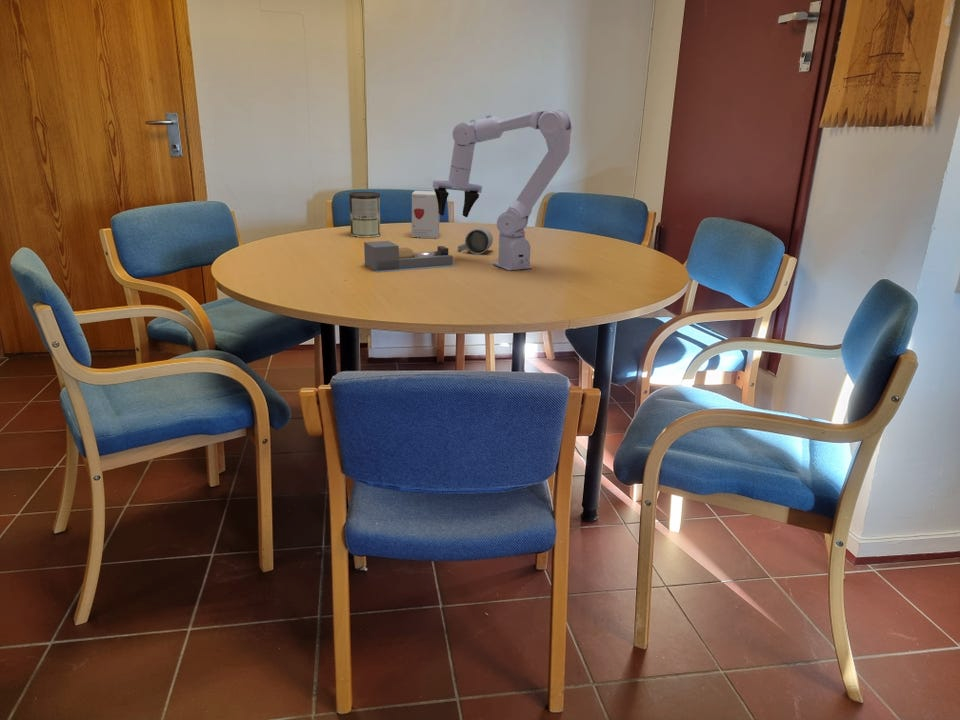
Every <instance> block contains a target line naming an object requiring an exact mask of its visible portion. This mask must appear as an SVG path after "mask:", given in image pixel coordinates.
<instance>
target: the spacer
mask: <svg viewBox="0 0 960 720" xmlns="http://www.w3.org/2000/svg"><path fill="white" fill-rule="evenodd" d="M413 251H414V250H413V249H411V248H409V247H399V259H401V258H413V253H414V252H413Z"/></svg>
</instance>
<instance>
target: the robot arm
mask: <svg viewBox="0 0 960 720" xmlns="http://www.w3.org/2000/svg"><path fill="white" fill-rule="evenodd" d="M485 117H486V118H482V119H477V120H476V119H470V120H469V121H470V122H467V123H466V122H461V123H459V124H457V125H456V126H454V128H453V129H452V139H453V142H454V144H453V149H452V156H451V162H450V169H449V176H448V180H433V181H432V188H433V189H434V190H433V191H435V193H436V197H437V201H438V209H439V214H440V215H439V216H444V214H445V211H446V210H445V209H446V203H447V199H448V197H449V192H448V191H447V190H451V191H462V192H464V198H463V199H464V201H463V207H462V209H463V210H462V216H463V217H464V218H468V217H469V214H470V212H471V210H472V208H473V206H474V204H475V203H476V202H477V200H478V199H480V194H482V191H483V186H482V185H480V184H476V183H469V182H470V176H471V171H472V165H473V164H472V163H473V158H474V152H475V146H476V144H477V143H482V142H487V141H492V140H496V139H499V138H501V137H502V135H503V134H504V132H509V131H515V130H519V129H524V128H532V129H534V130H539V131H540V133H541V134H542V136H543V137H544V139H545V142H546V147H547V152H546V154H545V155H544V157H543V158H542V160H541V161H540V163H539V165H538V166H537V168H536V169H535V171H534V172H533V173H532V175H531V177H530V178H529V180H527V183H526V184H525V185H524V188H523V189H522V190H521V192H520V193H519V195H518V196H517V198H516V200H515V201H514V202H512V203H511V205H510V206H509V207H508V209H507V210H506V211H505V212H502V213H501V214H500V215H499V216H498V218H497V220H496V227H497V230H498V231H499V234H498V235H499V236H498V237H499V238H498V260H497V261H492V265H494V266H497V267H500V268H501V269H503V270H506V271H517V270H518V271H519V270H528V269H533V266H532V265H530V264H531V263H530V262H531V245H530V242H529V241H528V240H527V239H526V232H525V230H524V229H526V228H527V227H528V223H529V217H530V215H531V214H532V211H533V208H534V206H535V204H536V203H537V202H538V201H539V199H540V198H541V196H542V195H543V193H544V191H546V188H547V187H548V185H549V184H550V182H551V181H552V180H553V178H554V176H556V174H557V172H558V170H559V169H560V168H561V166H562V165H563V163H564V162H565V160H566V159H567V157H568V156H569V154H570V148H571V147H570V144H571V134H572V130H573V125H572V122H571V117H570V116H569V114H568V113H567V112H566V111H564V110H561V109H557V110H556V109H555V110H553V109H547V110H535V111H533V110H532V111H529V112H525V113H522V114H518V115H514V116H511V117H507V118H503V119H501V118H500V117H498V116H496V115H494V116H493V115H492V114H489V115H486V116H485Z"/></svg>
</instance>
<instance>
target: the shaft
mask: <svg viewBox="0 0 960 720" xmlns="http://www.w3.org/2000/svg"><path fill="white" fill-rule="evenodd" d="M431 251H432V250H431ZM431 251H421V252H420V251H419V252H418V251H417V253H416V252H413V258H415V257H429V256H443V255H449V247H446V246H445V245H438V246H437V250H434V251H432V252H431Z"/></svg>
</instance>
